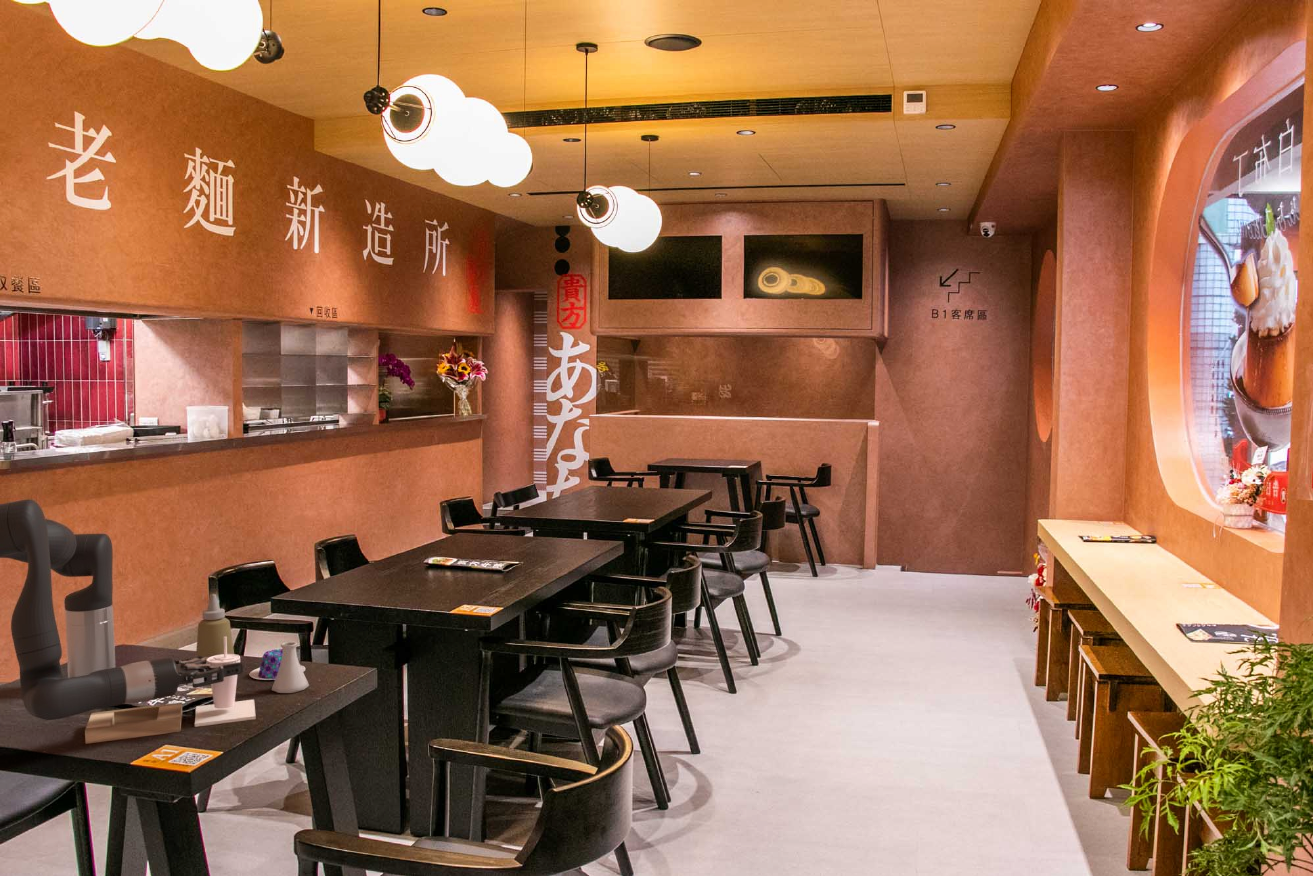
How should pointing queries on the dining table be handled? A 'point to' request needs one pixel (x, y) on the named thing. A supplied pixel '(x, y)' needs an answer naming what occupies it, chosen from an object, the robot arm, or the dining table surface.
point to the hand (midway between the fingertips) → (235, 664)
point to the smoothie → (227, 688)
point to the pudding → (269, 665)
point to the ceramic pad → (225, 713)
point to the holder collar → (160, 717)
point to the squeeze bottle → (213, 631)
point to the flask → (289, 671)
